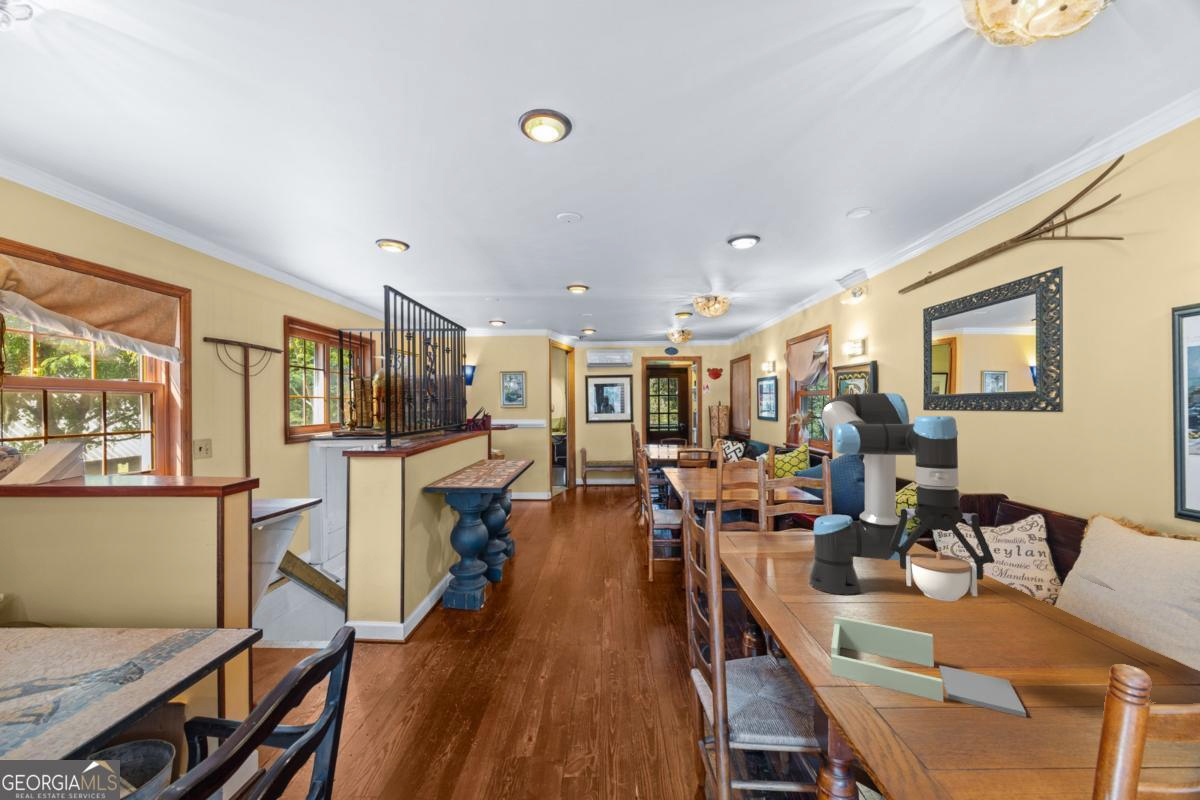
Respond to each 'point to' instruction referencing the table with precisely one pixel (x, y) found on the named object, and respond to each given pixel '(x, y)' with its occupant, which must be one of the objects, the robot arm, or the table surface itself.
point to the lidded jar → (941, 575)
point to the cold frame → (888, 645)
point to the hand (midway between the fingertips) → (940, 589)
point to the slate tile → (981, 691)
